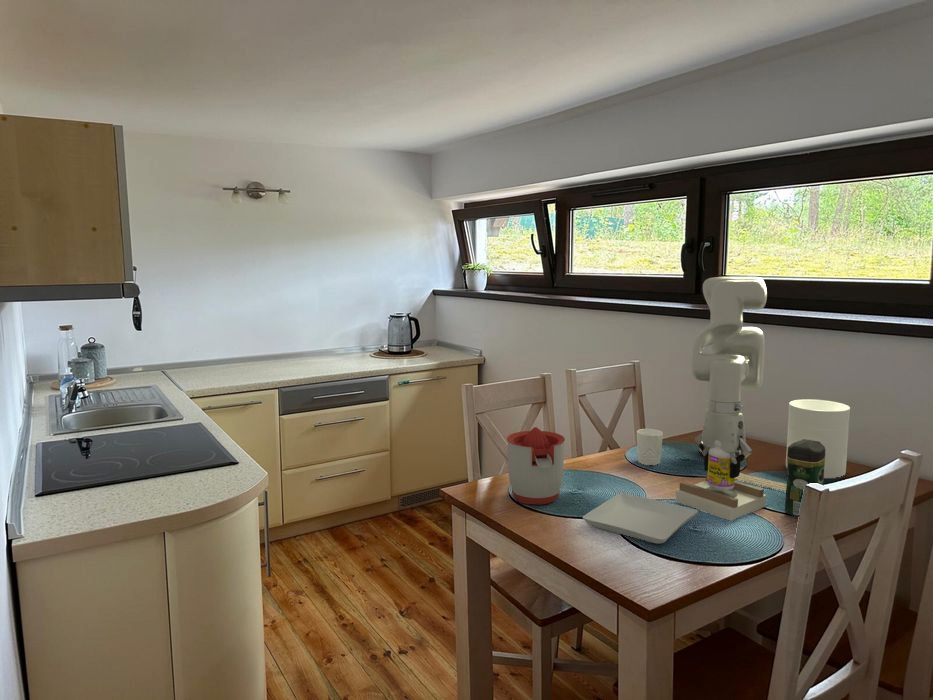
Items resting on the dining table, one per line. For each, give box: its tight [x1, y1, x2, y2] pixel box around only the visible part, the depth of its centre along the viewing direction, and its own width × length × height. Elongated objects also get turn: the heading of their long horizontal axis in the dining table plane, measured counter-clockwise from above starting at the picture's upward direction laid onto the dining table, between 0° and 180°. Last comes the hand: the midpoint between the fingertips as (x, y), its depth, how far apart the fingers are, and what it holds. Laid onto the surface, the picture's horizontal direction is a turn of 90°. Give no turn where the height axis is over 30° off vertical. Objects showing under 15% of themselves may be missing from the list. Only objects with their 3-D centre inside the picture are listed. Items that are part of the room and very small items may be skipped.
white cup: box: [636, 428, 664, 466], centre depth 201 cm, size 8×8×10 cm
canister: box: [785, 398, 851, 479], centre depth 191 cm, size 16×16×20 cm
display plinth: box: [675, 472, 767, 522], centre depth 167 cm, size 16×16×5 cm
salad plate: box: [582, 492, 699, 544], centre depth 155 cm, size 21×21×3 cm
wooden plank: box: [735, 472, 787, 491], centre depth 183 cm, size 24×7×2 cm, turn 42°
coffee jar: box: [784, 439, 825, 519], centre depth 159 cm, size 10×8×19 cm
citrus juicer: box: [506, 426, 566, 505], centre depth 172 cm, size 16×17×20 cm
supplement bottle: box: [707, 440, 736, 490], centre depth 166 cm, size 7×7×13 cm
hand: (721, 472), depth 166 cm, fingers closed on supplement bottle, 6 cm apart
